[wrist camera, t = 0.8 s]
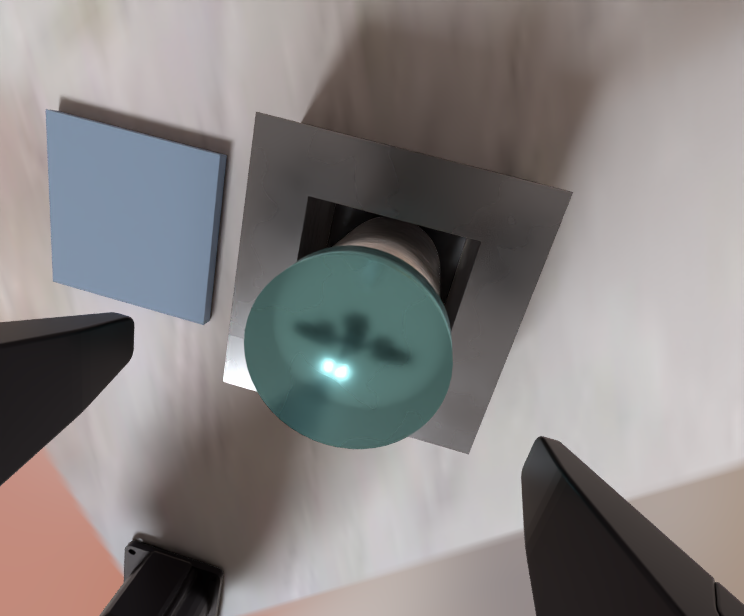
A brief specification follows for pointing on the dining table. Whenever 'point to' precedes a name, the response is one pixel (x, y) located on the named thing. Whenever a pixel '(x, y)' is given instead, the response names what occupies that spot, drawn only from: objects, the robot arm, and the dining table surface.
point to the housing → (410, 204)
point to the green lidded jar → (354, 338)
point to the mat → (134, 215)
